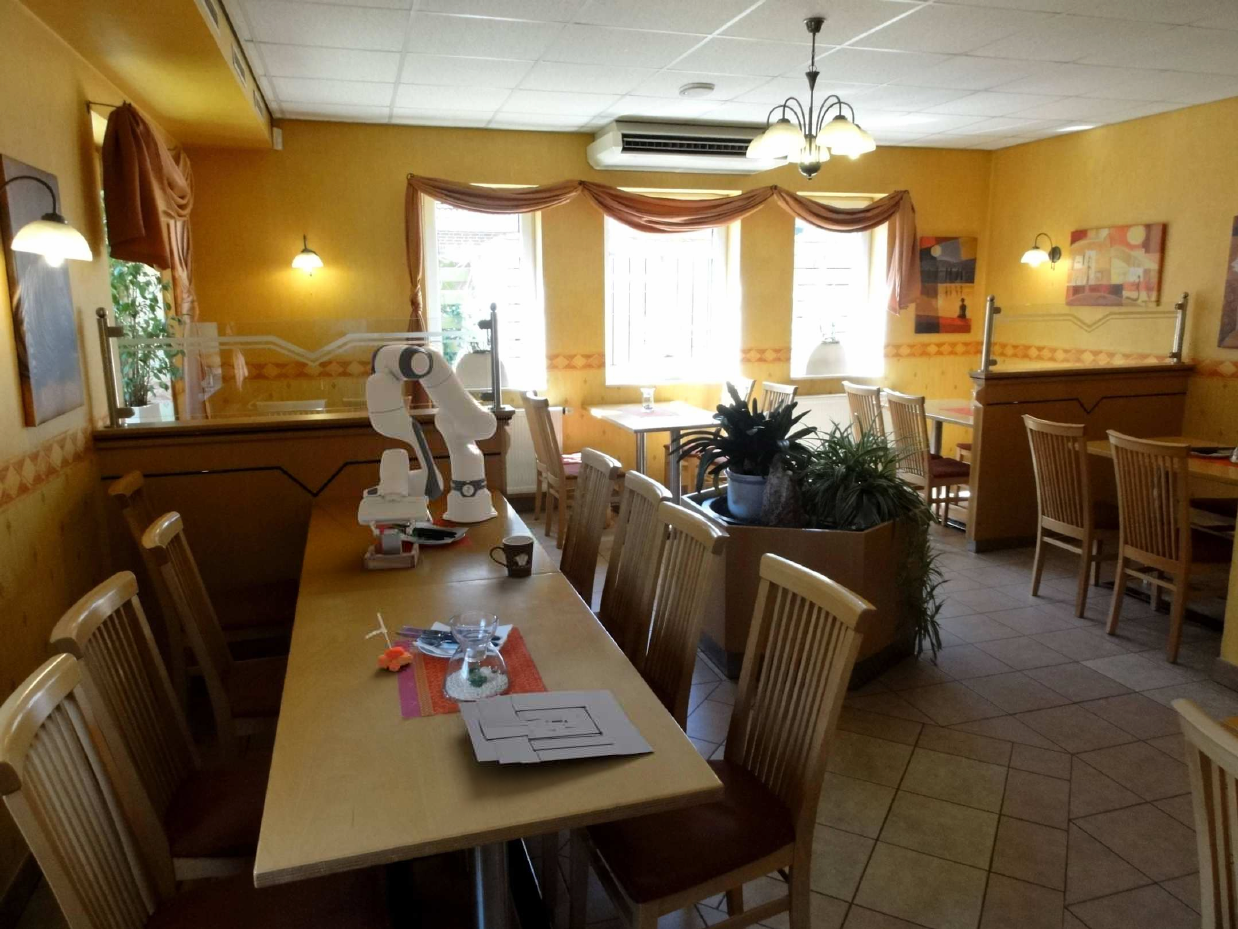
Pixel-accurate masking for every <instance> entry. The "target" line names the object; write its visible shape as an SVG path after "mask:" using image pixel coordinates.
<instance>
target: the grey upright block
mask: <svg viewBox="0 0 1238 929" xmlns="http://www.w3.org/2000/svg"><path fill="white" fill-rule="evenodd" d="M380 536H381V546H382V554H383V556H387V555H402V553H403V547H402V546H403V545H402V532H401V530H399V529H398V528H389V529H388V528H387V529H384V530H383V531H382V533H381V535H380Z"/></svg>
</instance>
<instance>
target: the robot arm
mask: <svg viewBox="0 0 1238 929" xmlns="http://www.w3.org/2000/svg"><path fill="white" fill-rule="evenodd" d="M370 367H371V368H370V374H371V375H370V376H369V377H368V378H367V380H366V382H365V397H366V405H367V411H368V412H367V413H368V416H369V420H370V422H371V425H372V427H373V429H374V430H375V431H376V432H378V434H381V435H382V436H384V437H387V438H392V439H397V440H401V441H403V442H406V443H408V444H410V445H411V446H412V448H413V449H414V451H415V454H416V456H417V458H418V462H419V464H420V467H421V468H420V469H415V470H410V462H409V461H410V460H409V454H408V451H407V450H405V449H403V448H390V449H386V450H385V451H383V453H382V456H381V459H380V460H381V461H380V465H379V466H380V468H379V477H380V482H379V484H378V485H376V486H373V487H371V488H368V489H365V490H363V499H362V500H361V501H360V502H359V507H358V512H357V513H358V514H357V519H358V522H359V524H360V525H361V526H369V527H370V528H371V529H372V531H373V534H372V535H373V537H374V538H377V537H380V530H379V528H376V527H377V525H392V524H393V525H395V524H410V525H409V527H406V529H405V530H406V531H405V534H406V536H411V535H413V530H414V529H415V527H416V526H417V523H425V522H427V521H428V518H429V514H428V508H427V506H428V505H429V503H430V502H429V501H430V500H437V498H439V497H440V496H441V495H442V493H443V492H444V479H443V477H442V475H441V472H440V470H439V468H438V466H437V464H436V461H435V458H434V457H433V453H432V450H431V448H430V445H429V443H428V441H427V437H426V436H425V435H426V434H425V432H424V430H423V428H422V426H421V425H420V423H419V421H417V420H415V419H413V418H412V417H411V415H410V414H409V413H408V411H407V409H406V406H405V401H404V397H403V393H402V392H403V391H402V390H403V388H402V387H403V384H404V381H417V380H418V381H419V383H420V385H421V386H422V387H423V388H424V391H425V392H426V394H427V395H428V397H429V398H430V400H431V401H432V403H433V404H434V405H435V406H436V407H437V408H439V409H438V410H436V412H435V415H434V425H435V427H436V429H437V430H438V431H439V432H440V433H441V435H442V437H443V440H444V442H445V445H446V447H447V449H448V452H449V456H450V457H449V458H450V467H451V478H450V487H451V488H450V489H451V490H450V492H449V493H448V494H447V498H446V500H447V502H446V503H447V511H446V512H444V514H443V515H442V519H443V520H448V521H452V522H456V523H457V522H458V523H476V522H481V521H482V522H483V521H486V520H489V519H492V518H496V517H498V516H499V514H498V512H497V511H496V509H495V508H494V507H493V502H492V493H491V492H490V491H489V490H488V489H487V477H486V476H485V460H484V455H483V452H482V451H481V450H480V449H479V447H478V445H477V443H476V441H481V440H487V439H490V438H491V437H493V436H494V434H495V433H496V431H497V426H498V422H497V418H496V416H495V414H494V413H493V412H491V411H490V410H489V409H487V408H485V407H484V406H483V405H482V404H481V403H479V401H478V400H477V399H475V397H474V396H473V395H471V393H470V392H469V391H468V389H466V388H465V387H464V386H463V384H462V382H461V381H460V380H459V377H458V375H456V373H455V372H454V369H453V368H452V366H451V364H450V363H449V362H448V360H447V359H446V357H444V355H443V354H442V353H441V352H440V351H439V350H438V349H437V348H436V347H434V346H432V345H423V346H421V347H419V346H417V345H408V344H401V343H400V344H386V345H381V346H379V347H377V348H376V349H375V350H374V351H373V353H372V355H371V358H370Z"/></svg>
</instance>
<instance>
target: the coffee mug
mask: <svg viewBox="0 0 1238 929" xmlns="http://www.w3.org/2000/svg"><path fill="white" fill-rule="evenodd" d="M534 544H535V538H534V537H533V536H530V535H521V534H520V535H519V534H518V535H512V536H511V535H510V536H506V537H505V538H503V539H502V546H503V547H502V546H499V545H498V546H494V547H492V548H491V550H489V556H490V559H492V560H493V561H494V562H495V563H497V564H499V565H501V566H502V567H505V568H506V570H507V575H508V577H509V578H512V579H525V578H529V577H530V576H532V572H533V571H532V570H533V558H534V557H533V556H534V547H535V546H534ZM495 550H501V551H502V553H503V554H504V557H505V563H503V562H501V561H499V560H498V559H496V558H494V556H493V553H494V551H495Z"/></svg>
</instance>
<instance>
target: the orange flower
mask: <svg viewBox="0 0 1238 929" xmlns="http://www.w3.org/2000/svg"><path fill="white" fill-rule="evenodd" d="M377 618H378V621H379V623H380V626H381V628H379V629H378V630H374V631H371V633H369V634H367V635H365V637H364V638H365V639H369V638H370V637H373V636H374V635H376V634H377V635H378V634H379V633H381V632H382V634H384V636H385V639H386V642H387V644H388V648H389V649H387V650H386V651H385V652H384V654H382V655H379V657H378V659H377V665H378V667H380V668H381V669H388V668H389V670H390V672H397V671H399V670H400V667H401V666H405V665H407V664H410V663H411V662H412V661H413V658H414V657H413V655H412V654H410V652H406V651H405V648H404V647H401V646H396V647H392V646H391V642H390V640H389V637H388V634H387V633H388V630H387V629H386V628H385V625H384V622H383V620H382V619H383V618H382V616H381V614H380V612H377Z"/></svg>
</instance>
